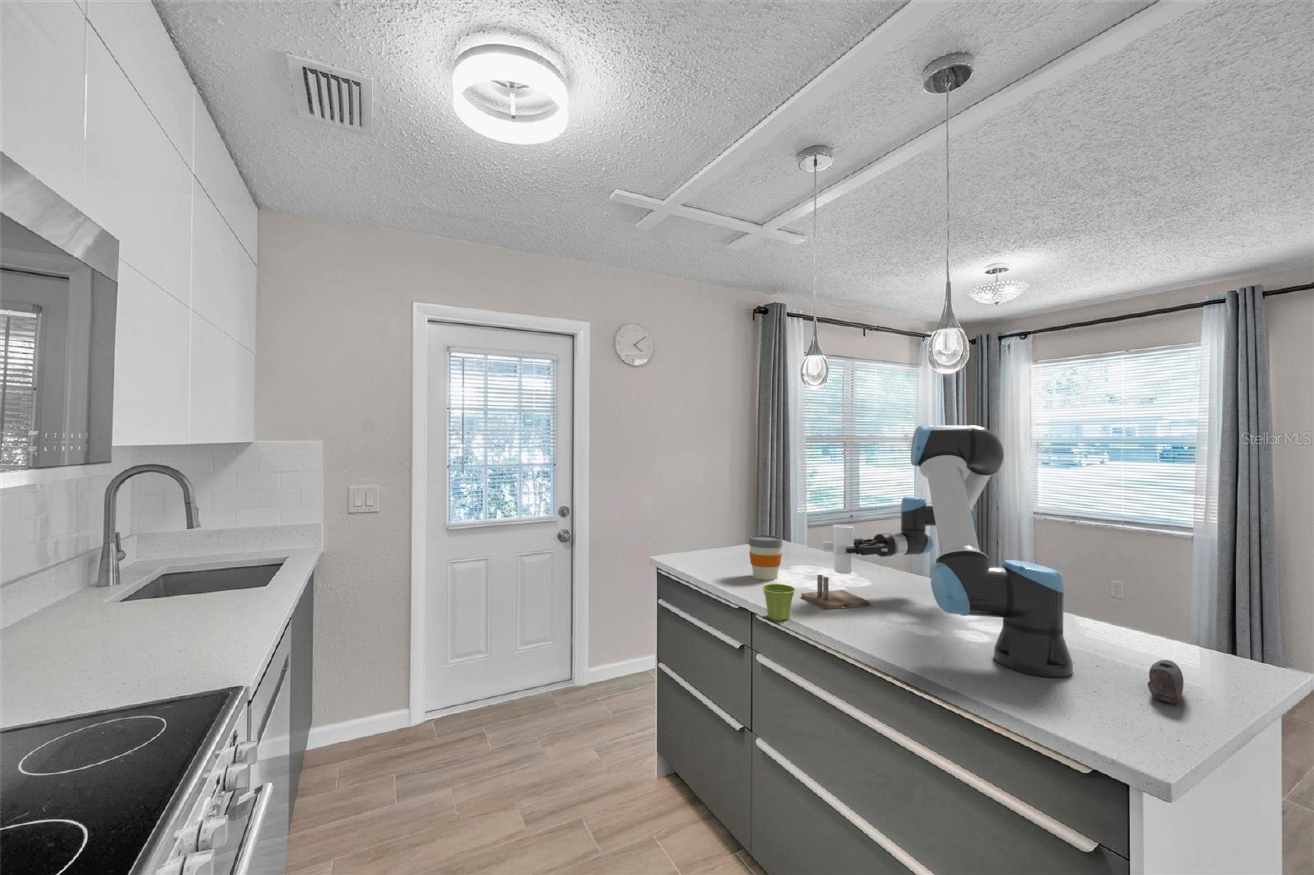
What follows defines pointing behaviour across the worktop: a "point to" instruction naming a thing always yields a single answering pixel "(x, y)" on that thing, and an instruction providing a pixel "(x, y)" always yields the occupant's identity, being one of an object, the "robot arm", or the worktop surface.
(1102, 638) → the worktop surface
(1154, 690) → the perforated stone tool
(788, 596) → the plant pot
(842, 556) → the white tall cylinder
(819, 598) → the board
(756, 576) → the reusable coffee cup
